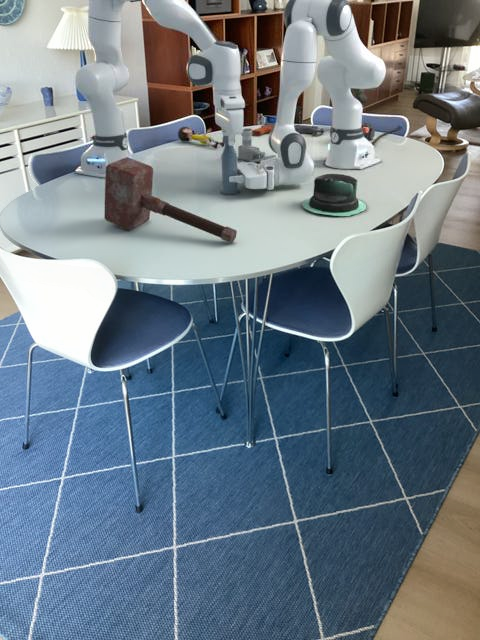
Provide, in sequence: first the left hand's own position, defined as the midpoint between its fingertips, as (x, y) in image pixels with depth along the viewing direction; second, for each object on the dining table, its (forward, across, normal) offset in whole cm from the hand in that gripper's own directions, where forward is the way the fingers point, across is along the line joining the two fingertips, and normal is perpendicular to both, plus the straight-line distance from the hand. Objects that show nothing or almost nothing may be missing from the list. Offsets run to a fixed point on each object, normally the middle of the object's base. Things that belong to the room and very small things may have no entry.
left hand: (228, 143), depth 182 cm
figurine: (+16, -72, +7) cm, 75 cm away
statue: (+16, -71, +84) cm, 111 cm away
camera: (+16, -36, +21) cm, 44 cm away
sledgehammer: (+16, +30, -26) cm, 43 cm away
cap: (-2, 0, 0) cm, 2 cm away
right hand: (+11, 0, -1) cm, 11 cm away
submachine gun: (+16, -74, +49) cm, 90 cm away
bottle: (+16, 0, 0) cm, 16 cm away
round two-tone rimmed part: (+16, +26, +27) cm, 41 cm away
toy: (+16, -47, +72) cm, 87 cm away
